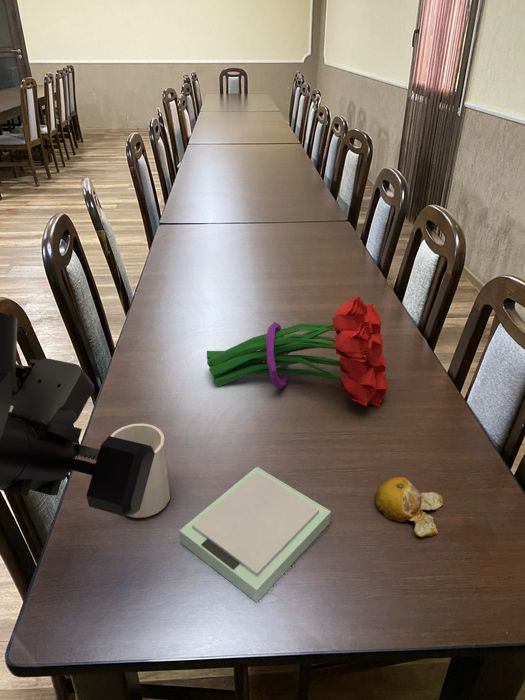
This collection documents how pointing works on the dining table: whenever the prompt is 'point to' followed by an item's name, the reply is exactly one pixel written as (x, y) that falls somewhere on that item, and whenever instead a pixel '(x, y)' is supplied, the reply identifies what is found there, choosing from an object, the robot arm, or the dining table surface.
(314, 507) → the scale
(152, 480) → the cream faceted cup
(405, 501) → the fruit
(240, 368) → the bouquet
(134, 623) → the dining table surface
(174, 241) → the dining table surface
